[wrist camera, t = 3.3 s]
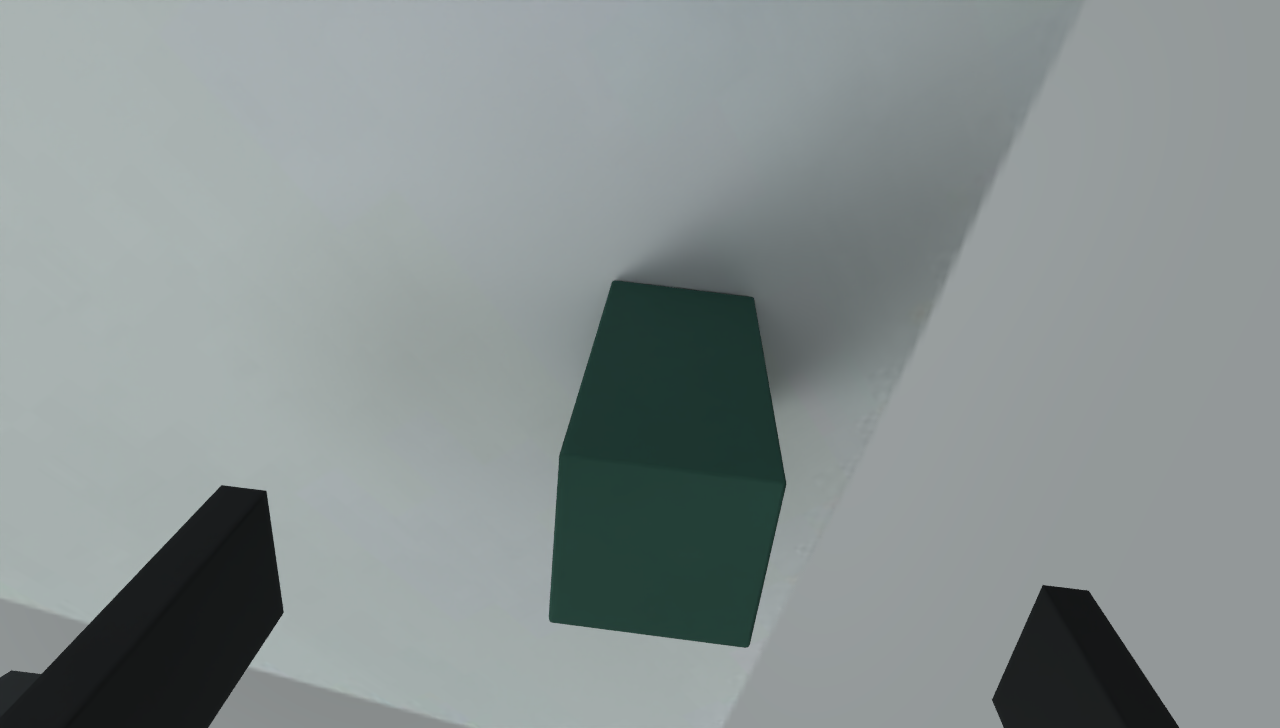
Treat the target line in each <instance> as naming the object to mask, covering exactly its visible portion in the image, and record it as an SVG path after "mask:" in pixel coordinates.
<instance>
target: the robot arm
mask: <svg viewBox="0 0 1280 728" xmlns="http://www.w3.org/2000/svg"><path fill="white" fill-rule="evenodd" d="M283 613H284V611H283V604H282V597H281V590H280V583H279V576H278V569H277V562H276V555H275V548H274V541H273V534H272V527H271V520H270V513H269V506H268V499H267V492H266V491H264V490H256V489H247V488H239V487H231V486H223V485H221V486H220V487H219V489H218V490H217V491H216V492H215V493H214V494H213V495H212V496H211V497H210V498H209V499H208V500H207V501H206V502H205V503H204V504H203V505H202V506H201V507H200V508H199V510H198V511H197V512H196V513H195V514H194V515H193V516H192V517H191V518H190V519H189V520H188V521H187V522H186V523H185V524H184V525H183V526H182V527H181V528H180V529H179V530H178V532H177V533H176V534H175V535H174V536H173V537H172V538H171V539H170V540H169V541H168V542H167V543H166V544H165V545H164V546H163V547H162V548H161V549H160V550H159V551H158V553H157V554H156V555H155V556H154V557H153V558H152V559H151V560H150V561H149V562H148V563H147V564H146V565H145V566H144V567H143V568H142V569H141V570H140V571H139V572H138V574H137V575H136V576H135V577H134V578H133V579H132V580H131V581H130V582H129V583H128V584H127V585H126V586H125V587H124V588H123V589H122V590H121V591H120V592H119V593H118V595H117V596H116V597H115V598H114V599H113V600H112V601H111V602H110V603H109V604H108V605H107V606H106V607H105V608H104V609H103V610H102V611H101V612H100V613H99V614H98V615H97V617H96V618H95V619H94V620H93V621H92V622H91V623H90V624H89V625H88V626H87V627H86V628H85V629H84V630H83V631H82V632H81V633H80V634H79V635H78V636H77V638H76V639H75V640H74V641H73V642H72V643H71V644H70V645H69V646H68V647H67V648H66V649H65V650H64V651H63V652H62V653H61V654H60V655H59V656H58V658H57V659H56V660H55V661H54V662H53V663H52V664H51V665H50V666H49V667H48V668H47V669H46V670H45V671H44V672H43V673H42V674H35V673H27V672H18V671H10V672H8V673H7V674H5V675H4V676H2V677H0V728H208V727H209V725H210V724H211V722H212V721H213V719H214V718H215V716H216V715H217V713H218V711H219V710H220V709H221V707H222V706H223V704H224V702H225V701H226V699H227V698H228V697H229V695H230V693H231V692H232V690H233V689H234V687H235V686H236V684H237V683H238V681H239V680H240V678H241V677H242V675H243V674H244V672H245V670H246V669H247V668H248V666H249V665H250V663H251V662H252V660H253V659H254V657H255V655H256V654H257V652H258V651H259V649H260V648H261V646H262V645H263V643H264V642H265V640H266V639H267V637H268V636H269V634H270V633H271V631H272V630H273V628H274V627H275V625H276V624H277V622H278V620H279V619H280V617H281V616H282V614H283ZM992 701H993V703H994V706H995V708H996V710H997V712H998V715H999V717H1000V719H1001V722H1002V724H1003V727H1004V728H1179V727H1178V725H1177V724H1176V722H1175V720H1174V719H1173V718H1172V716H1171V714H1170V713H1169V712H1168V710H1167V708H1166V707H1165V705H1164V704H1163V703H1162V701H1161V699H1160V698H1159V696H1158V695H1157V693H1156V692H1155V690H1154V689H1153V688H1152V686H1151V684H1150V683H1149V681H1148V680H1147V678H1146V677H1145V675H1144V674H1143V672H1142V671H1141V669H1140V668H1139V666H1138V665H1137V663H1136V662H1135V660H1134V659H1133V657H1132V656H1131V654H1130V653H1129V651H1128V650H1127V648H1126V647H1125V645H1124V643H1123V642H1122V641H1121V639H1120V637H1119V636H1118V634H1117V633H1116V631H1115V630H1114V628H1113V627H1112V625H1111V624H1110V622H1109V621H1108V619H1107V618H1106V616H1105V615H1104V613H1103V612H1102V610H1101V609H1100V607H1099V606H1098V604H1097V603H1096V601H1095V600H1094V598H1093V597H1092V595H1091V594H1090V592H1089V591H1087V590H1079V589H1070V588H1062V587H1054V586H1045V585H1043V586H1042V588H1041V590H1040V593H1039V595H1038V597H1037V599H1036V602H1035V604H1034V606H1033V608H1032V611H1031V613H1030V615H1029V617H1028V620H1027V622H1026V624H1025V627H1024V629H1023V631H1022V634H1021V636H1020V638H1019V640H1018V642H1017V645H1016V647H1015V649H1014V651H1013V654H1012V656H1011V658H1010V660H1009V663H1008V665H1007V667H1006V669H1005V672H1004V674H1003V676H1002V679H1001V681H1000V683H999V685H998V688H997V690H996V692H995V695H994V697H993V699H992Z"/></svg>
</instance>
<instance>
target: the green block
mask: <svg viewBox="0 0 1280 728" xmlns="http://www.w3.org/2000/svg"><path fill="white" fill-rule="evenodd" d="M785 488H786V479H785V473H784V468H783V462H782V456H781V451H780V445H779V439H778V433H777V428H776V422H775V416H774V411H773V405H772V399H771V393H770V388H769V382H768V376H767V371H766V365H765V359H764V353H763V348H762V342H761V336H760V331H759V325H758V319H757V313H756V308H755V302H754V298H752V297H746V296H738V295H730V294H722V293H714V292H705V291H697V290H689V289H681V288H672V287H664V286H656V285H648V284H640V283H631V282H623V281H613V282H612V284H611V288H610V291H609V294H608V297H607V301H606V304H605V307H604V311H603V314H602V317H601V320H600V324H599V327H598V330H597V334H596V337H595V340H594V343H593V347H592V350H591V353H590V357H589V360H588V363H587V366H586V370H585V373H584V376H583V380H582V383H581V386H580V389H579V393H578V396H577V399H576V403H575V406H574V409H573V412H572V416H571V419H570V422H569V426H568V429H567V432H566V435H565V439H564V442H563V445H562V449H561V452H560V455H559V470H558V485H557V500H556V516H555V531H554V546H553V561H552V577H551V592H550V607H549V620H550V622H553V623H560V624H568V625H576V626H583V627H591V628H599V629H606V630H614V631H622V632H629V633H637V634H645V635H652V636H660V637H668V638H675V639H683V640H691V641H698V642H706V643H714V644H721V645H729V646H737V647H744V648H746V647H748V646H749V645H750V641H751V637H752V632H753V628H754V624H755V619H756V615H757V610H758V606H759V602H760V597H761V593H762V588H763V584H764V580H765V575H766V571H767V567H768V562H769V558H770V553H771V549H772V545H773V540H774V536H775V531H776V527H777V523H778V518H779V514H780V510H781V505H782V501H783V496H784V492H785Z"/></svg>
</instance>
